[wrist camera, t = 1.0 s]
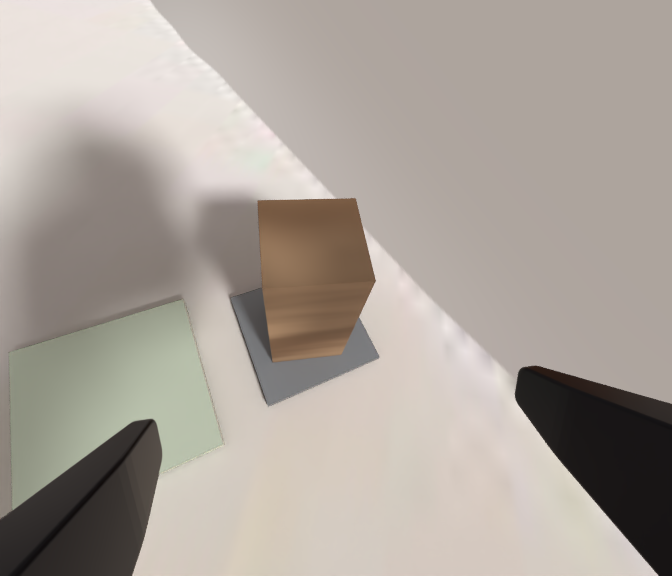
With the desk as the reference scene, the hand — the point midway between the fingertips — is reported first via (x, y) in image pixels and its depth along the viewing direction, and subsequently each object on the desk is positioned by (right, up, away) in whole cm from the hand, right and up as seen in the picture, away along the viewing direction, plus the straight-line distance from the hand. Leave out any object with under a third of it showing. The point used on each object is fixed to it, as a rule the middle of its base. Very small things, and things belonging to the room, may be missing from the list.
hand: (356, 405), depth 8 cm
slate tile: (-3, 0, +15) cm, 16 cm away
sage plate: (-14, -4, +12) cm, 18 cm away
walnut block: (-3, 0, +15) cm, 15 cm away
